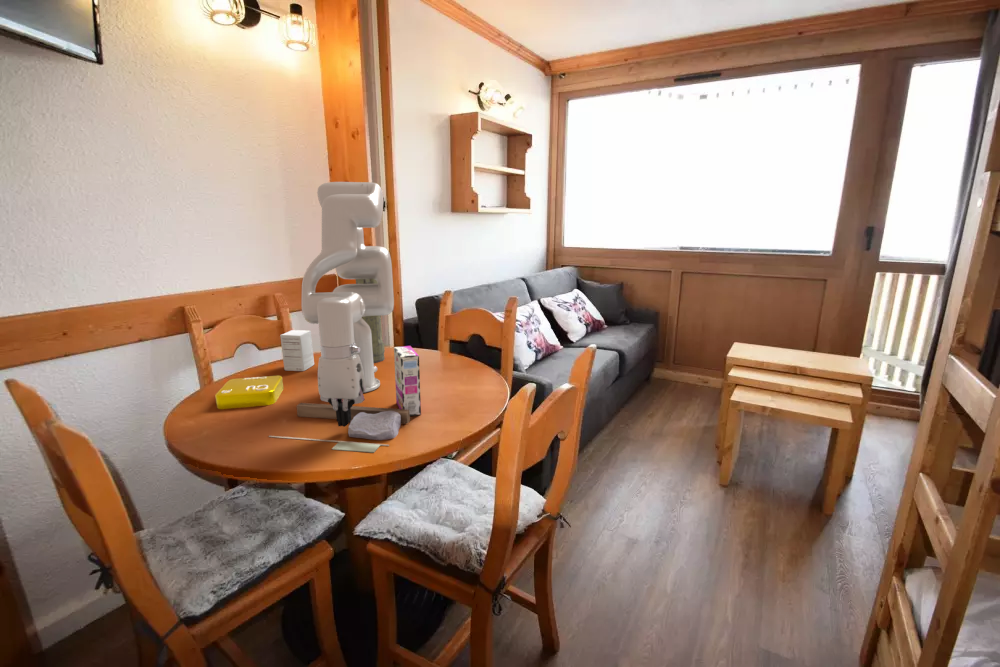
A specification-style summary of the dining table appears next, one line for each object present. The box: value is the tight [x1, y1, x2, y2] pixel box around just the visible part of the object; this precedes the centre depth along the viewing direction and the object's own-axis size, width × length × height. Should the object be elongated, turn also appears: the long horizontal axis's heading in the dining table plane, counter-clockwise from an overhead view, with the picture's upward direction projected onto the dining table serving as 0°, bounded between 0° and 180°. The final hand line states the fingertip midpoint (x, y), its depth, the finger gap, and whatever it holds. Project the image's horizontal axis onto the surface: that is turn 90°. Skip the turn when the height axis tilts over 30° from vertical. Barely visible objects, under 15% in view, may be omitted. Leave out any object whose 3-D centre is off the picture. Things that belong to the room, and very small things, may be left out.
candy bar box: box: [393, 345, 422, 417], centre depth 128 cm, size 11×5×16 cm, turn 22°
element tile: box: [214, 375, 284, 410], centre depth 138 cm, size 15×15×5 cm
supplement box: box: [279, 329, 315, 372], centre depth 164 cm, size 7×7×13 cm
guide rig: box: [268, 402, 411, 454], centre depth 116 cm, size 18×30×3 cm, turn 81°
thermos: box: [355, 279, 386, 364], centre depth 170 cm, size 9×12×35 cm
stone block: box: [347, 411, 402, 441], centre depth 116 cm, size 12×5×10 cm
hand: (344, 424), depth 115 cm, fingers closed
